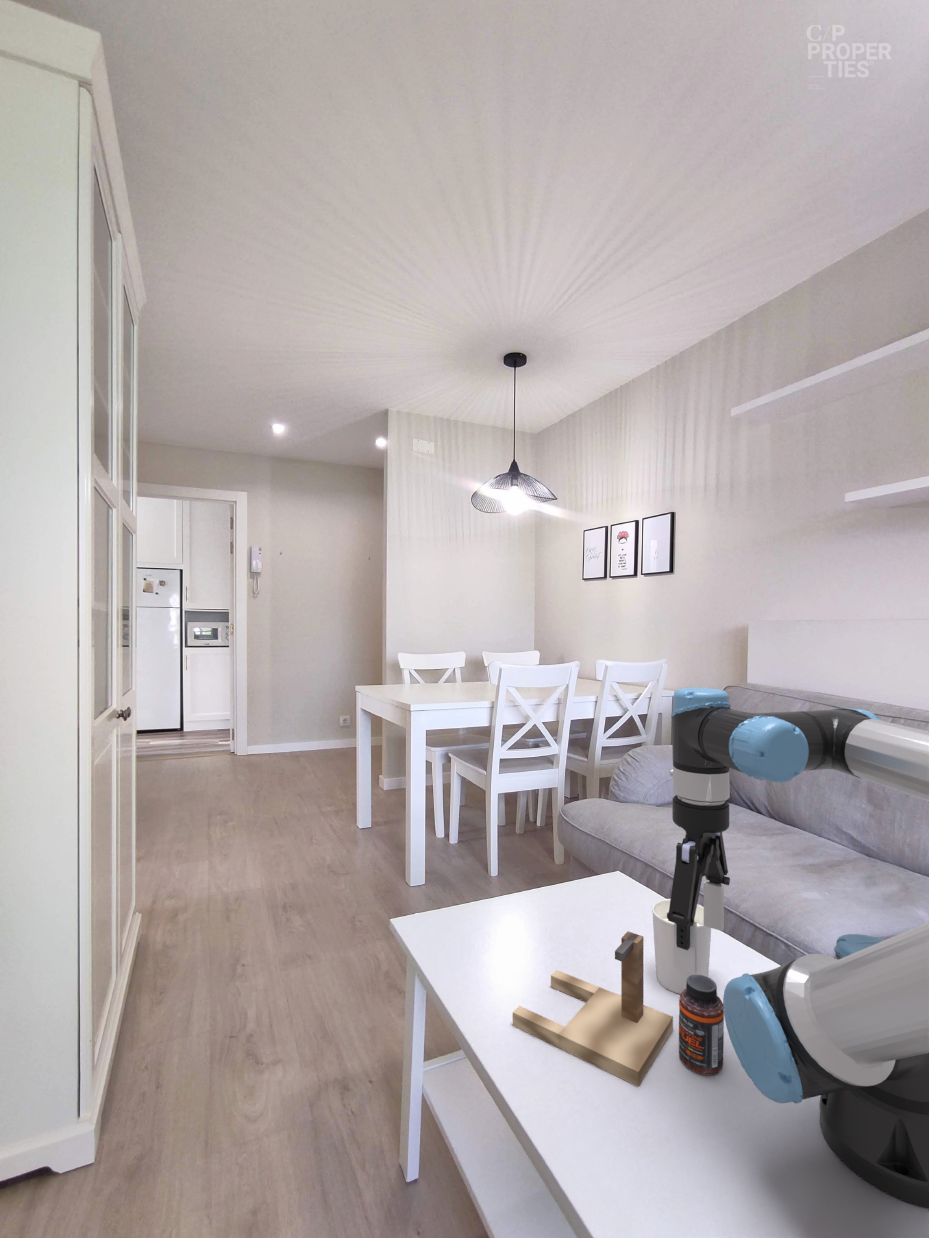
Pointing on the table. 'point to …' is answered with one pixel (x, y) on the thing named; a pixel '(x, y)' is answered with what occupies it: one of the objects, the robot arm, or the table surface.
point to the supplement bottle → (701, 1026)
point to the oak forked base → (601, 1030)
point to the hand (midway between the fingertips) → (700, 947)
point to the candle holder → (665, 947)
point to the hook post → (631, 976)
